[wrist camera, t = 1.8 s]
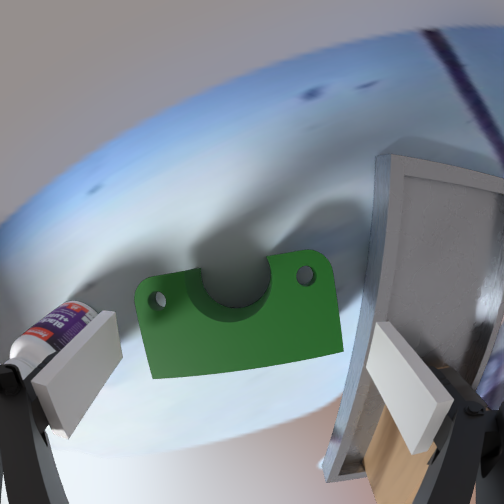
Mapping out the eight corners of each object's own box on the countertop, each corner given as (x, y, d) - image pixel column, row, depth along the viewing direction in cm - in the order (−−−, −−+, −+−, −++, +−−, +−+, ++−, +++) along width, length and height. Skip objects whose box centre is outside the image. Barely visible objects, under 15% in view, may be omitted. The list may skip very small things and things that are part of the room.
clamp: (282, 253, 25) (352, 240, 17) (293, 323, 25) (366, 341, 17) (132, 279, 21) (127, 281, 12) (149, 359, 21) (158, 408, 12)
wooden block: (362, 461, 25) (384, 526, 16) (396, 368, 22) (446, 440, 13) (410, 451, 25) (438, 508, 16) (450, 360, 22) (504, 418, 13)
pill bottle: (86, 288, 21) (11, 348, 12) (122, 346, 22) (69, 425, 13) (46, 312, 22) (-23, 367, 12) (79, 363, 23) (25, 431, 13)
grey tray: (322, 466, 26) (326, 482, 24) (375, 156, 19) (391, 153, 17) (431, 445, 26) (439, 458, 24) (506, 182, 19) (524, 184, 17)
